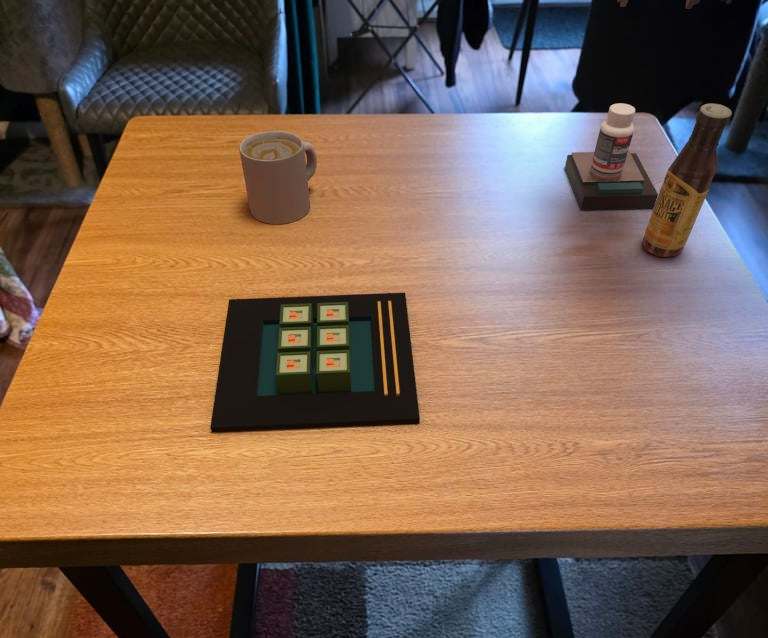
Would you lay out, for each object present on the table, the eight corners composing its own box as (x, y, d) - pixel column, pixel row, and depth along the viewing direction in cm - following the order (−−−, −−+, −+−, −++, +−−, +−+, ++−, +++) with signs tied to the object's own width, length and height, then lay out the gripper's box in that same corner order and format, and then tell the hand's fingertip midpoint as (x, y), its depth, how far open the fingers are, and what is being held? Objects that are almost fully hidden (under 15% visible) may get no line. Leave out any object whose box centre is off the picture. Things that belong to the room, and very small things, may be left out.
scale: (632, 167, 116) (637, 148, 114) (653, 208, 108) (659, 189, 105) (564, 168, 116) (568, 149, 113) (580, 210, 108) (585, 191, 105)
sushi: (419, 423, 79) (420, 401, 76) (211, 432, 79) (204, 410, 76) (405, 297, 94) (405, 274, 91) (230, 304, 94) (225, 281, 91)
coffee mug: (269, 231, 105) (259, 167, 97) (239, 205, 110) (227, 142, 102) (339, 204, 110) (334, 141, 102) (307, 180, 114) (301, 118, 106)
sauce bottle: (632, 242, 102) (677, 101, 86) (666, 233, 103) (717, 94, 87) (657, 264, 98) (709, 122, 82) (692, 255, 100) (750, 114, 84)
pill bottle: (608, 177, 108) (623, 119, 101) (584, 164, 111) (598, 107, 103) (630, 167, 110) (646, 109, 103) (606, 155, 112) (621, 98, 105)
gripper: (773, -130, 71) (715, -30, 87) (637, -131, 72) (605, -33, 88) (760, -52, 72) (706, 32, 88) (627, -55, 74) (597, 28, 90)
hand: (655, 0), depth 88 cm, fingers open, 8 cm apart
